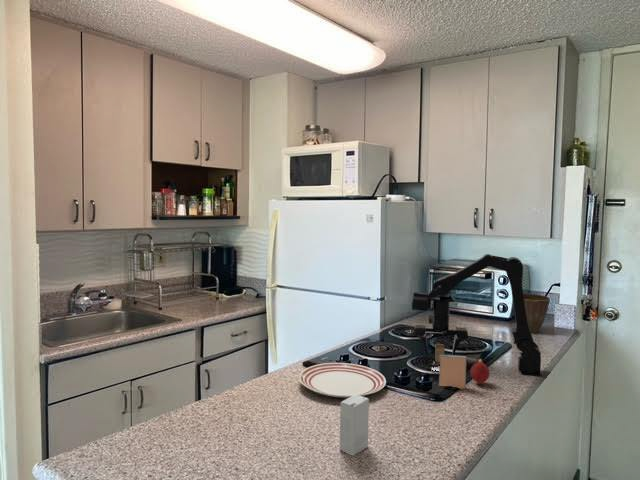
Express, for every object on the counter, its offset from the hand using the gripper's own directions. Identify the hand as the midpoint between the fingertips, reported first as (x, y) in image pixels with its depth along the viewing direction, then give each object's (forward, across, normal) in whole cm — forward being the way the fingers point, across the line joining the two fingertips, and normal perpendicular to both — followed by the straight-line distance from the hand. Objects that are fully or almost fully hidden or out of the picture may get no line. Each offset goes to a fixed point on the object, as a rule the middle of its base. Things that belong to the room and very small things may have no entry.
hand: (439, 354), depth 175 cm
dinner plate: (+3, +31, +31) cm, 44 cm away
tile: (+3, -3, +24) cm, 24 cm away
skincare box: (+3, +22, +69) cm, 73 cm away
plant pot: (+3, -42, -53) cm, 68 cm away
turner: (+3, 0, +5) cm, 6 cm away
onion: (+3, -12, +19) cm, 23 cm away
